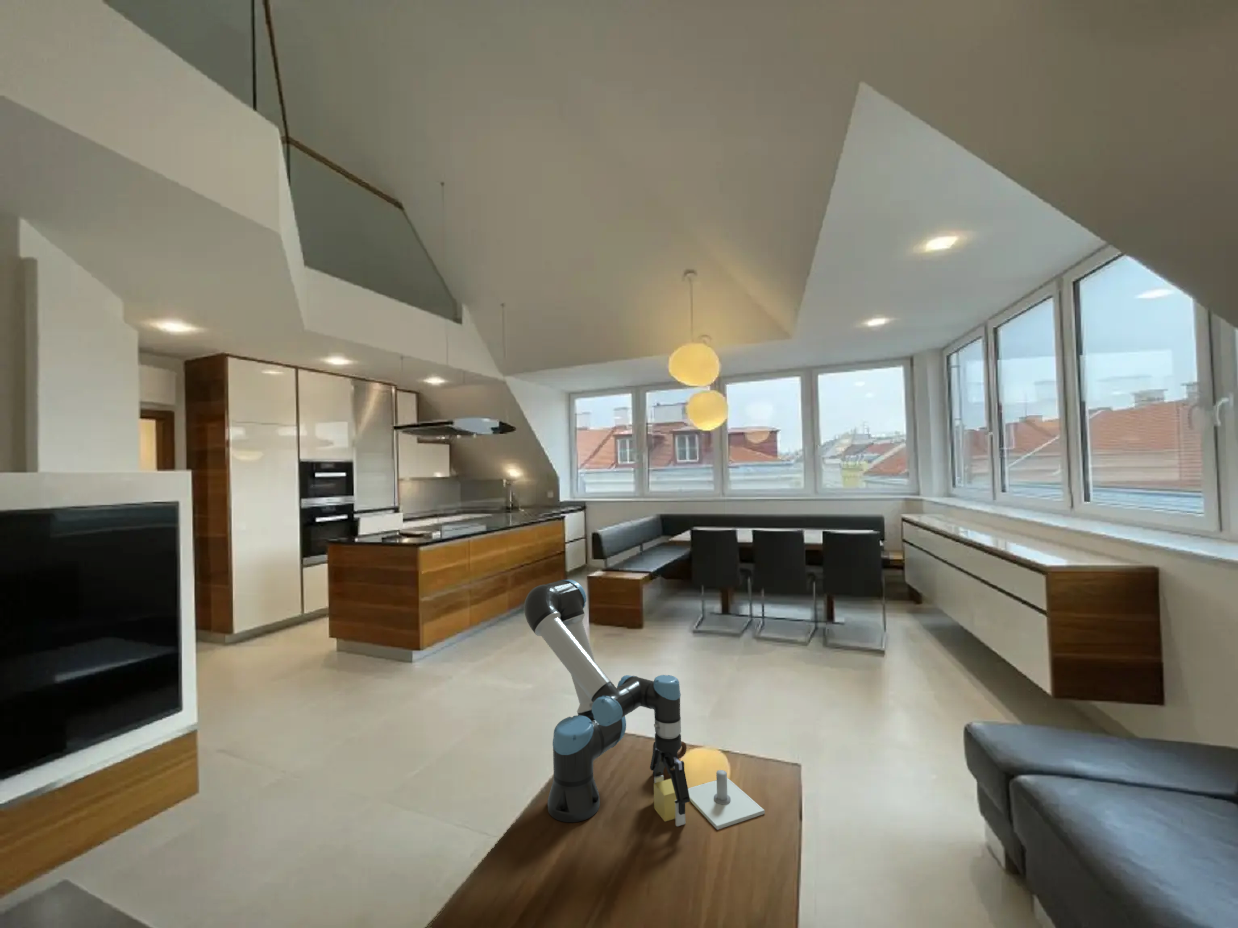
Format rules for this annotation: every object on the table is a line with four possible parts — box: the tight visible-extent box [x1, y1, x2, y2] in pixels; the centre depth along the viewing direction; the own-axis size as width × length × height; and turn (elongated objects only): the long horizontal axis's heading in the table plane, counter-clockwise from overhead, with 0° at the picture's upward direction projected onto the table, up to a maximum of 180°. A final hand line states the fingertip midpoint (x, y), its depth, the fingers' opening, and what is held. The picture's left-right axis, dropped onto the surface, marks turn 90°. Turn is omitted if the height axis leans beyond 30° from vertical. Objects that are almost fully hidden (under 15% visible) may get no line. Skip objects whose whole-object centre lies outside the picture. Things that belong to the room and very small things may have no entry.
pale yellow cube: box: [653, 779, 677, 823], centre depth 143 cm, size 6×6×7 cm
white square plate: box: [688, 769, 765, 830], centre depth 147 cm, size 18×16×9 cm
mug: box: [652, 740, 688, 780], centre depth 163 cm, size 12×8×9 cm, turn 114°
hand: (669, 811), depth 143 cm, fingers open, 12 cm apart
